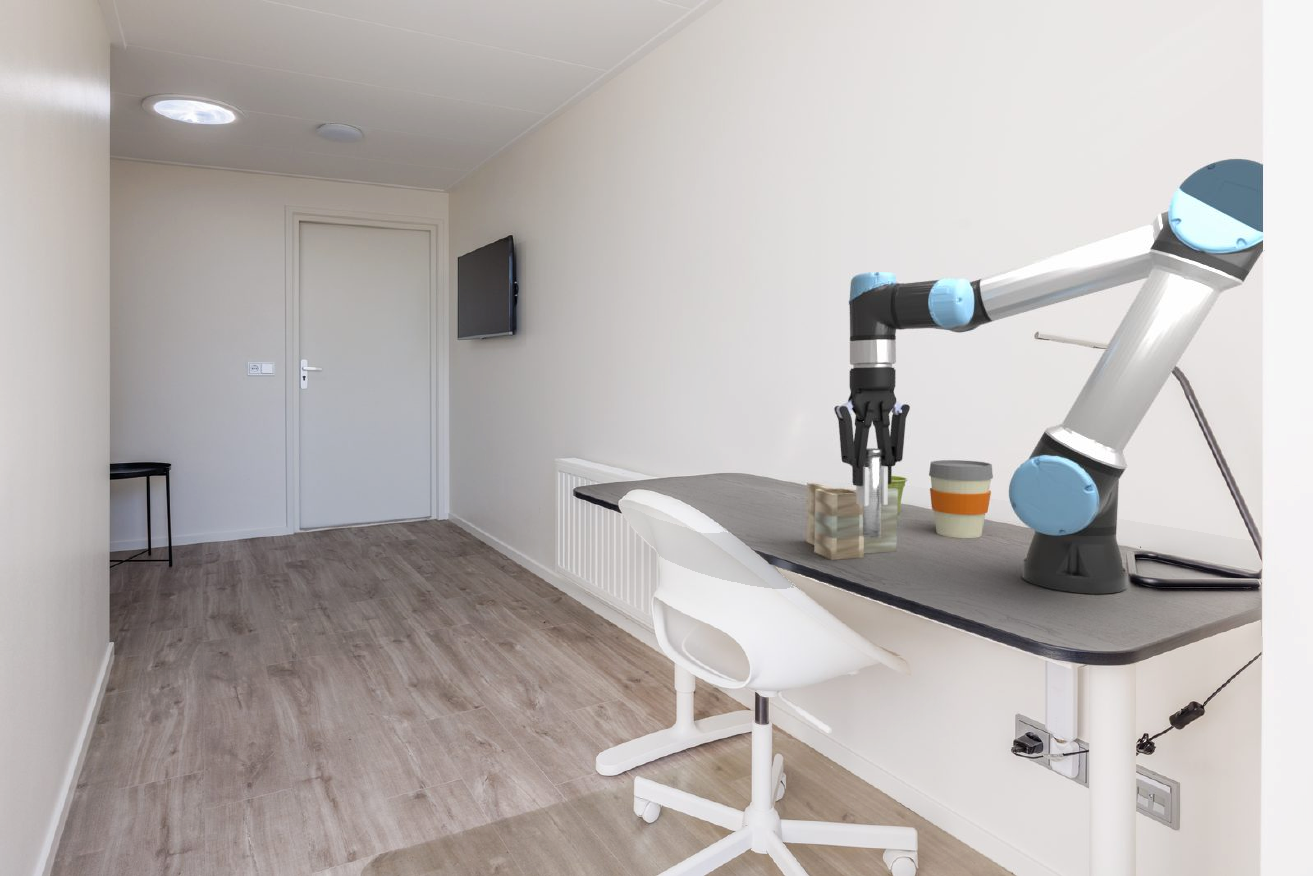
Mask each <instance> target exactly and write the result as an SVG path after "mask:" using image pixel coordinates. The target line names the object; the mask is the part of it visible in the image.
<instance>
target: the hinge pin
mask: <svg viewBox="0 0 1313 876" xmlns="http://www.w3.org/2000/svg"><path fill="white" fill-rule="evenodd" d="M881 455H882V449H878V448H871V447H870V448H868V447H867V450H866V458H865V465H864V466H863V467H868V468H869V506H863V537H867V538H879V537H881Z"/></svg>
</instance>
